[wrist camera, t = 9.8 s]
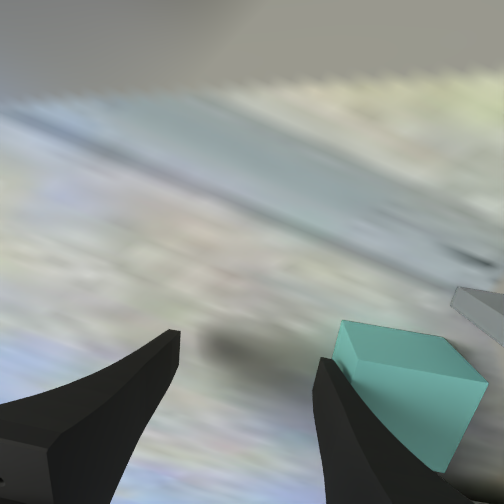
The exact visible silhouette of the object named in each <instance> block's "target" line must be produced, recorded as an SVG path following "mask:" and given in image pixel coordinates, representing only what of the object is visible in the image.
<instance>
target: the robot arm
mask: <svg viewBox="0 0 504 504" xmlns="http://www.w3.org/2000/svg"><path fill="white" fill-rule="evenodd" d="M180 334H181V331H176V330H171V329H169V330H167V331H165V332H164V333H162V334H161V335H159V336H158V337H156V338H155V339H153V340H152V341H150V342H149V343H147V344H146V345H144V346H143V347H141V348H140V349H138V350H136V351H135V352H133V353H131V354H130V355H128V356H126V357H124V358H123V359H121V360H119V361H118V362H116V363H114V364H112V365H110V366H108V367H106V368H104V369H102V370H100V371H98V372H96V373H93V374H91V375H89V376H86V377H84V378H81V379H79V380H77V381H74V382H72V383H69V384H67V385H64V386H61V387H58V388H55V389H52V390H49V391H46V392H43V393H40V394H37V395H33V396H30V397H26V398H23V399H19V400H15V401H11V402H8V403H4V404H0V504H110V502H111V500H112V497H113V495H114V493H115V490H116V488H117V486H118V484H119V482H120V479H121V477H122V475H123V473H124V470H125V468H126V466H127V464H128V462H129V459H130V457H131V455H132V453H133V451H134V449H135V447H136V445H137V443H138V440H139V438H140V436H141V435H142V433H143V431H144V429H145V427H146V425H147V424H148V422H149V420H150V419H151V417H152V415H153V413H154V412H155V410H156V408H157V407H158V405H159V403H160V401H161V400H162V398H163V396H164V395H165V393H166V391H167V389H168V388H169V386H170V384H171V382H172V380H173V377H174V375H175V373H176V370H177V368H178V366H179V352H180ZM312 395H313V413H314V419H315V425H316V431H317V437H318V442H319V448H320V454H321V460H322V466H323V473H324V482H325V493H326V504H475V503H473V502H472V501H471V500H469V499H468V498H467V497H465V496H464V495H463V494H461V493H460V492H459V491H457V490H456V489H455V488H453V487H452V486H451V485H449V484H448V483H447V482H446V481H444V480H443V479H442V478H441V477H440V476H438V475H437V474H436V473H435V472H434V471H432V470H431V469H430V468H429V467H428V466H426V465H425V464H424V463H423V462H422V461H421V460H419V459H418V458H417V457H416V456H415V455H414V454H413V453H412V452H411V451H410V450H409V449H408V448H406V447H405V446H404V445H403V444H402V443H401V442H400V441H399V440H398V439H397V438H396V437H395V436H394V435H393V434H392V433H391V432H390V431H389V430H388V429H387V428H386V427H385V425H384V424H383V423H382V422H381V421H380V420H379V419H378V418H377V417H376V416H375V414H374V413H373V412H372V411H371V410H370V408H369V407H368V406H367V405H366V404H365V402H364V401H363V400H362V399H361V397H360V396H359V395H358V393H357V392H356V391H355V389H354V388H353V387H352V385H351V384H350V383H349V381H348V380H347V378H346V377H345V375H344V374H343V373H342V371H341V370H340V368H339V367H338V365H337V364H336V362H335V361H334V360H333V359H328V358H323V357H321V358H320V362H319V366H318V370H317V374H316V378H315V382H314V386H313V390H312Z"/></svg>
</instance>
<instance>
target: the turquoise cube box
mask: <svg viewBox="0 0 504 504" xmlns="http://www.w3.org/2000/svg"><path fill="white" fill-rule="evenodd" d="M332 359H333V360H334V361H335V362H336V364H337V365H338V367H339V368H340V370H341V371H342V373H343V374H344V375H345V377H346V378H347V380H348V381H349V383H350V384H351V385H352V387H353V388H354V389H355V391H356V392H357V393H358V395H359V396H360V397H361V399H362V400H363V401H364V402H365V404H366V405H367V406H368V407H369V408H370V410H371V411H372V412H373V413H374V414H375V416H376V417H377V418H378V419H379V420H380V421H381V422H382V423H383V424H384V425H385V427H386V428H387V429H388V430H389V431H390V432H391V433H392V434H393V435H394V436H395V437H396V438H397V439H398V440H399V441H400V442H401V443H402V444H403V445H404V446H405V447H406V448H408V449H409V450H410V451H411V452H412V453H413V454H414V455H415V456H416V457H417V458H418V459H419V460H421V461H422V462H423V463H424V464H425V465H426V466H428V467H429V468H430V469H431V470H432V471H437V472H442V473H445V471H446V469H447V467H448V465H449V463H450V461H451V459H452V457H453V455H454V453H455V451H456V449H457V447H458V445H459V443H460V441H461V439H462V437H463V435H464V433H465V431H466V429H467V427H468V425H469V423H470V421H471V419H472V417H473V415H474V413H475V411H476V409H477V407H478V405H479V403H480V401H481V399H482V396H483V394H484V392H485V390H486V388H487V386H488V384H489V383H488V382H487V381H486V380H485V379H484V378H483V377H482V376H481V375H480V374H479V373H478V372H477V371H476V370H475V369H474V368H473V367H472V366H471V365H470V364H469V363H468V362H467V361H466V360H465V359H464V358H463V357H462V356H461V355H460V354H459V353H458V352H457V351H456V350H455V349H454V348H453V347H452V346H451V345H450V344H449V343H448V342H447V341H446V340H445V339H444V338H443V337H438V336H432V335H426V334H421V333H415V332H409V331H403V330H397V329H392V328H386V327H380V326H374V325H368V324H363V323H357V322H351V321H345V320H342V322H341V326H340V330H339V333H338V337H337V341H336V345H335V349H334V352H333V356H332Z"/></svg>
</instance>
